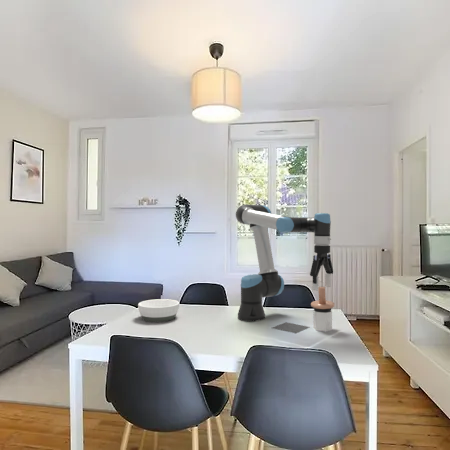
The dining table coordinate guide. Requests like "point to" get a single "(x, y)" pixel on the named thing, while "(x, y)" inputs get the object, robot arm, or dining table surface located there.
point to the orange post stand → (322, 300)
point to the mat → (290, 327)
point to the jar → (322, 319)
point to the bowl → (158, 310)
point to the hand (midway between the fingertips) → (321, 288)
